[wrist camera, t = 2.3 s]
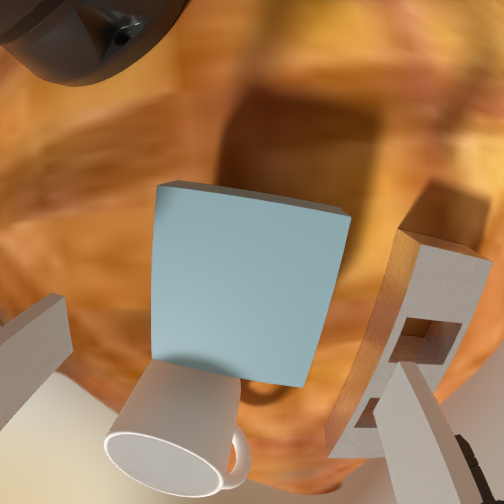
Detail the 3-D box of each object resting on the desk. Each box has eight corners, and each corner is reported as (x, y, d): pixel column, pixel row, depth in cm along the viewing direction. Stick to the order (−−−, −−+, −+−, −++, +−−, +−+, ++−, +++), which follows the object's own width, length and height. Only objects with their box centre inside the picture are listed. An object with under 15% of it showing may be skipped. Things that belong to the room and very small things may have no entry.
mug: (287, 409, 25) (285, 504, 15) (222, 437, 27) (203, 518, 17) (195, 322, 23) (148, 417, 13) (135, 364, 25) (84, 443, 15)
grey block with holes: (397, 228, 19) (420, 244, 15) (464, 245, 19) (492, 261, 15) (324, 427, 25) (327, 457, 22) (381, 428, 25) (389, 456, 21)
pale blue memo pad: (194, 176, 20) (157, 185, 13) (329, 198, 19) (351, 217, 13) (182, 309, 23) (152, 358, 16) (298, 330, 22) (303, 387, 16)
